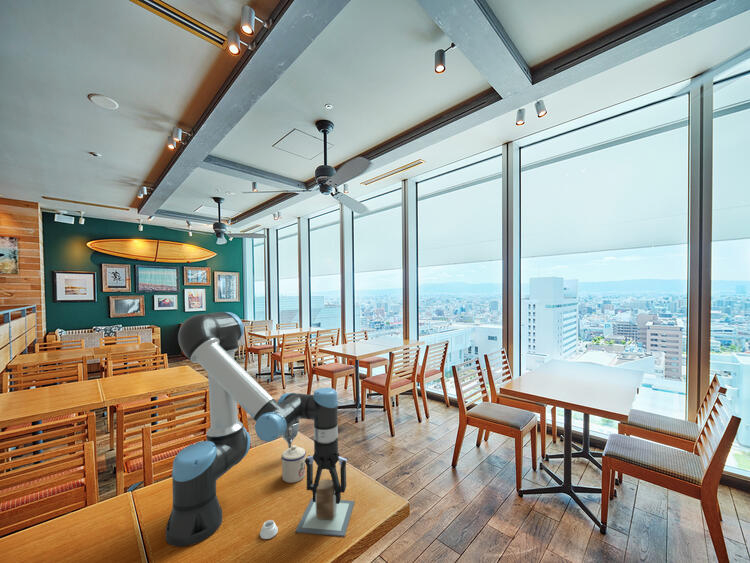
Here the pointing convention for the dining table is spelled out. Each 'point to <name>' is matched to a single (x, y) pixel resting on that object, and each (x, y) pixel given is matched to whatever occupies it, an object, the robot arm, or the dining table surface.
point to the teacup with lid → (293, 464)
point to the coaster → (326, 520)
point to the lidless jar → (268, 530)
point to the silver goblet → (291, 433)
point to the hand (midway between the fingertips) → (326, 512)
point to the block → (325, 499)
